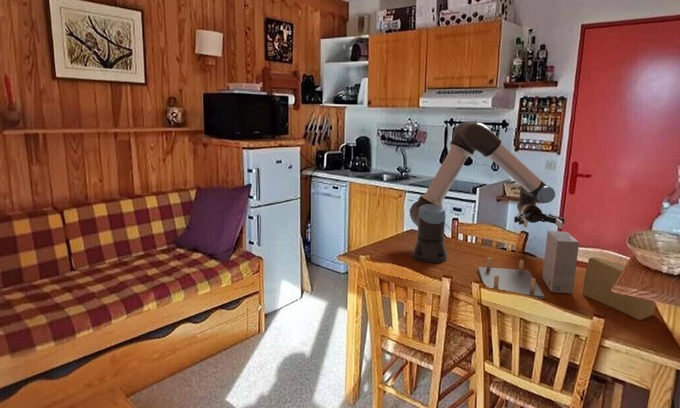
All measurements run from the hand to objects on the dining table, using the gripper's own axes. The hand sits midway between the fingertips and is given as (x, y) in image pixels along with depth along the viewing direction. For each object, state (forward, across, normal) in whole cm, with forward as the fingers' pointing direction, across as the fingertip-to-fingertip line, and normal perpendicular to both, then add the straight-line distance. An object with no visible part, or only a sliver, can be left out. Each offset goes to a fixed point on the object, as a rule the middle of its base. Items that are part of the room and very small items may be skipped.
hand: (543, 225), depth 188 cm
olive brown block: (+32, -17, -20) cm, 41 cm away
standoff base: (+19, +16, -19) cm, 31 cm away
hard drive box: (+18, -2, -20) cm, 26 cm away
